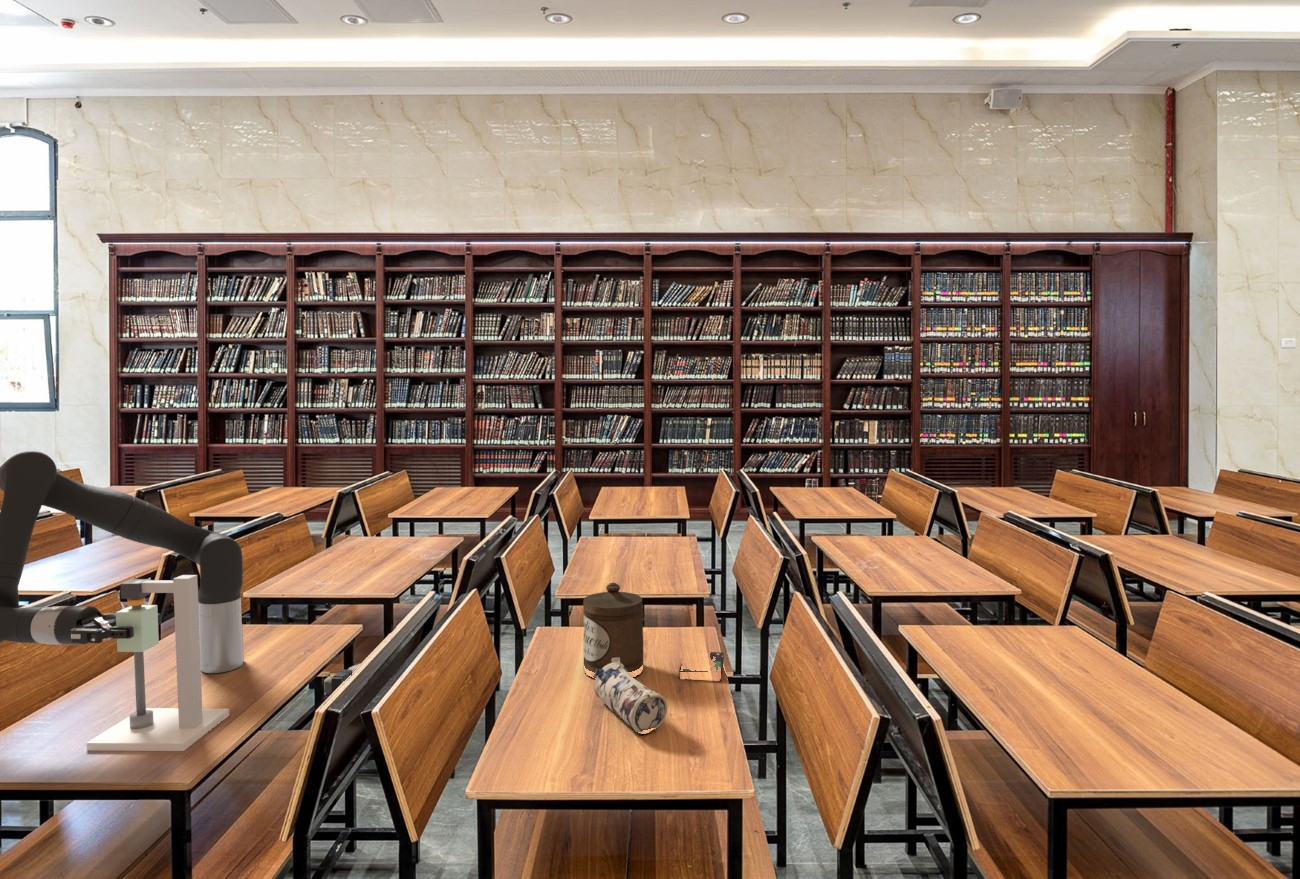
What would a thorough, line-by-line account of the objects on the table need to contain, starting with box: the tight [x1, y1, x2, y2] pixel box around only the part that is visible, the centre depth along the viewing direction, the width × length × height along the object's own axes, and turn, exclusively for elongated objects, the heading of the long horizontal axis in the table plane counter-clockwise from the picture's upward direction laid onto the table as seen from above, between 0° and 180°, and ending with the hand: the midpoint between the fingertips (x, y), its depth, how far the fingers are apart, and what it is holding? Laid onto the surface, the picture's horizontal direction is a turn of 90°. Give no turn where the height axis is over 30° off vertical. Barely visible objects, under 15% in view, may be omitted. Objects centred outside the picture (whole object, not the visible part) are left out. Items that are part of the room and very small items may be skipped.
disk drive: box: [678, 651, 725, 673], centre depth 191 cm, size 10×3×15 cm
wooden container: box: [582, 582, 644, 673], centre depth 190 cm, size 15×15×22 cm
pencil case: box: [593, 658, 668, 733], centre depth 163 cm, size 22×8×10 cm, turn 27°
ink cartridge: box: [331, 669, 352, 691], centre depth 167 cm, size 5×2×8 cm, turn 173°
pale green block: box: [115, 604, 160, 653], centre depth 154 cm, size 5×5×8 cm
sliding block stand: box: [86, 574, 230, 752], centre depth 155 cm, size 16×19×32 cm
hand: (146, 625), depth 154 cm, fingers open, 8 cm apart
